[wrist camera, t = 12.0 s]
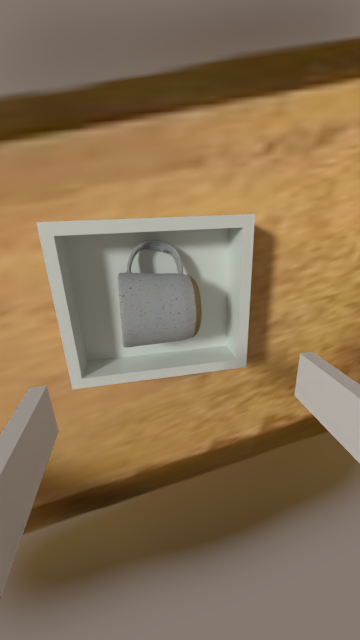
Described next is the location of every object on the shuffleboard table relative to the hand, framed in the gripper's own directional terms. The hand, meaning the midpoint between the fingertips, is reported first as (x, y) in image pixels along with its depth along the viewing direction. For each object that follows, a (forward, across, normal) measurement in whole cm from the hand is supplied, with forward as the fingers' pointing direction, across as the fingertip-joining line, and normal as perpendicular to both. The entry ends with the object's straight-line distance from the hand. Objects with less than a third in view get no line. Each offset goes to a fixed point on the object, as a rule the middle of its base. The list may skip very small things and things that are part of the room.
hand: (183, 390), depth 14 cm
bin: (+20, 0, 0) cm, 20 cm away
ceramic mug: (+19, 0, +1) cm, 19 cm away
